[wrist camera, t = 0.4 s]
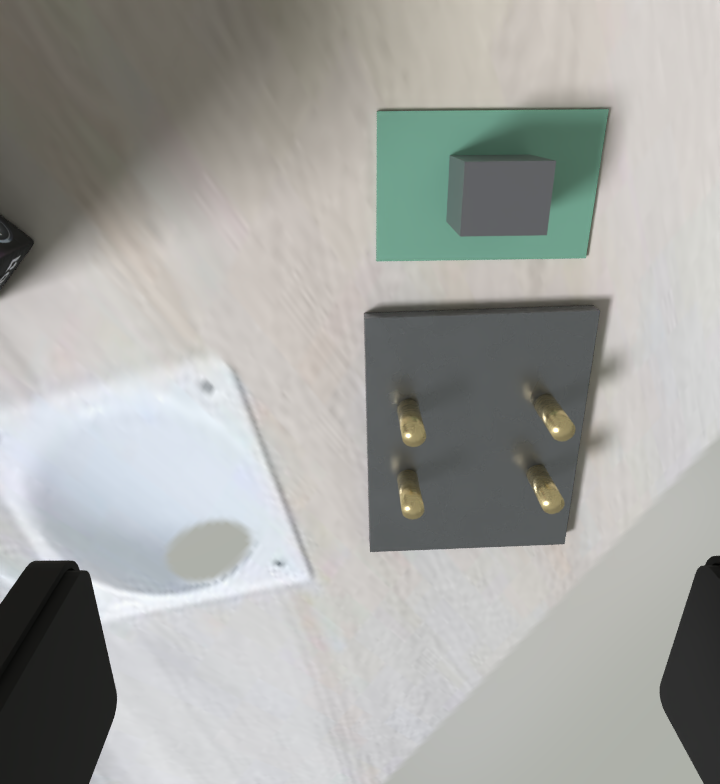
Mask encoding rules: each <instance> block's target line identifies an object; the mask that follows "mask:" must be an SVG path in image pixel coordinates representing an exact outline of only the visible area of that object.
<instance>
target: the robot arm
mask: <svg viewBox="0 0 720 784" xmlns="http://www.w3.org/2000/svg"><path fill="white" fill-rule="evenodd" d="M660 699H661V703H662V706H663V709H664V711H665V713H666V715H667V717H668V719H669V720H670V722H671V724H672V726H673V728H674V729H675V731H676V733H677V735H678V737H679V739H680V741H681V742H682V744H683V746H684V748H685V750H686V752H687V754H688V755H689V757H690V759H691V761H692V762H693V765H694V766H695V768H696V770H697V772H698V774H699V776H700V778H701V779H702V781H703V783H704V784H720V556H713V557H711V558H709V559H708V560H707V562H706V564H705V566H700V567H699V568H698V570H697V572H696V574H695V577H694V580H693V583H692V587H691V590H690V593H689V596H688V599H687V602H686V605H685V608H684V612H683V615H682V618H681V621H680V624H679V627H678V631H677V634H676V637H675V640H674V643H673V647H672V649H671V652H670V655H669V659H668V662H667V665H666V668H665V671H664V674H663V678H662V681H661V684H660ZM116 705H117V693H116V688H115V683H114V679H113V674H112V670H111V665H110V661H109V657H108V652H107V648H106V643H105V639H104V634H103V630H102V626H101V621H100V617H99V612H98V608H97V604H96V599H95V595H94V590H93V586H92V581H91V577H90V574H89V573H88V571H85V570H79V567H78V565H77V563H76V562H75V561H33V562H31V563H30V564H29V565H28V566H27V567H26V568H25V570H24V571H23V573H22V574H21V575H20V577H19V578H18V580H17V581H16V582H15V584H14V585H13V587H12V588H11V590H10V591H9V592H8V594H7V595H6V597H5V598H4V600H3V601H2V602H1V604H0V784H89V782H90V780H91V777H92V774H93V772H94V769H95V766H96V764H97V761H98V759H99V756H100V753H101V751H102V748H103V745H104V743H105V740H106V738H107V735H108V732H109V730H110V727H111V724H112V722H113V719H114V716H115V711H116Z"/></svg>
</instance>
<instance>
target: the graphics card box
mask: <svg viewBox="0 0 720 784" xmlns="http://www.w3.org/2000/svg"><path fill="white" fill-rule="evenodd" d="M33 244H34V241H33V240H32V239H31V238H30V237H28V236H27V235H26V234H25V233H23V232H22V231H21V230H19V229H18V228H17V227H16V226H15V225H13V224H12V223H10V222H9V221H7V220H6V219H5V218H4V217H2V216H1V215H0V289H1V288H2V287H3V286H4V284H5V283H6V282H7V280H8V279H9V277H10V276H11V274H12V273H13V271H14V270H16V268H17V266H18V265H19V264H20V262H21V261H22V259H23V258H24V257H25V256H26V254H27V253H28V251H29V250H30V248H31V247H32V245H33Z"/></svg>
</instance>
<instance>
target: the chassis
mask: <svg viewBox="0 0 720 784" xmlns="http://www.w3.org/2000/svg"><path fill="white" fill-rule="evenodd" d="M599 314H600V310H599V309H597V308H596V307H595V306H594V305H585V306H556V307H527V308H498V309H469V310H440V311H411V312H382V313H364V337H365V377H366V418H367V458H368V499H369V539H370V552H381V551H406V550H430V549H455V548H480V547H505V546H530V545H555V544H565V537H566V530H567V524H568V517H569V511H570V504H571V498H572V491H573V485H574V478H575V471H576V465H577V458H578V452H579V445H580V439H581V432H582V425H583V419H584V412H585V406H586V399H587V393H588V386H589V380H590V373H591V366H592V360H593V353H594V347H595V340H596V334H597V327H598V321H599Z"/></svg>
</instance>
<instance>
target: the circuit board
mask: <svg viewBox="0 0 720 784" xmlns="http://www.w3.org/2000/svg"><path fill="white" fill-rule="evenodd" d="M608 111H609V109H571V110H464V111H377V222H376V261H429V260H497V259H565V258H586V254H587V247H588V241H589V234H590V228H591V221H592V215H593V208H594V202H595V195H596V189H597V182H598V176H599V169H600V163H601V156H602V150H603V143H604V137H605V130H606V124H607V117H608Z"/></svg>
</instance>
